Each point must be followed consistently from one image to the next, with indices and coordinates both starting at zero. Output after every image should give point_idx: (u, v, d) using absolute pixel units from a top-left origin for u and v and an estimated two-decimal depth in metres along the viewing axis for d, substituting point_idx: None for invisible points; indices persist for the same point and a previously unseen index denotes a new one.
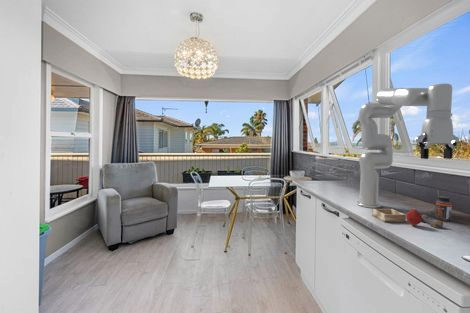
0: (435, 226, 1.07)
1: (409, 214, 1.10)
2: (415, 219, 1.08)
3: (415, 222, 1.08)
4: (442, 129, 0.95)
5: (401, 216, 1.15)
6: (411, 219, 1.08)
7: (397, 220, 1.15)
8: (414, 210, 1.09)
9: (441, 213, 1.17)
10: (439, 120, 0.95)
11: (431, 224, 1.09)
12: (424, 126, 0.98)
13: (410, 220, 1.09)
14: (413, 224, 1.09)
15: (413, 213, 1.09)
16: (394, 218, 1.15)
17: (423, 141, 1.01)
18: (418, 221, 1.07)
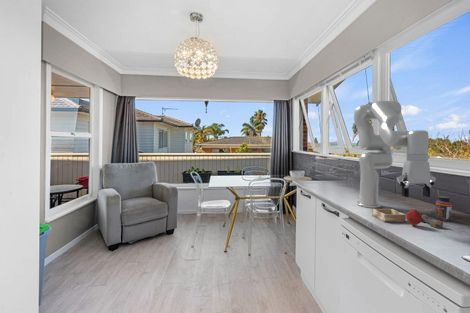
0: (435, 226, 1.07)
1: (409, 214, 1.09)
2: (415, 219, 1.08)
3: (415, 222, 1.08)
4: (420, 171, 1.06)
5: (401, 216, 1.15)
6: (411, 219, 1.08)
7: (397, 220, 1.15)
8: (414, 210, 1.09)
9: (441, 213, 1.17)
10: (417, 163, 1.06)
11: (431, 224, 1.09)
12: (404, 167, 1.09)
13: (410, 220, 1.09)
14: (413, 224, 1.09)
15: (413, 213, 1.09)
16: (394, 218, 1.15)
17: (404, 180, 1.11)
18: (418, 221, 1.07)
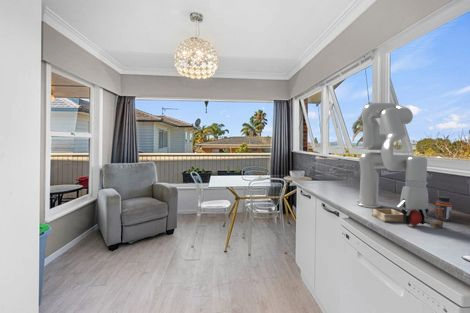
0: (435, 226, 1.07)
1: (409, 214, 1.09)
2: (415, 219, 1.07)
3: (415, 222, 1.08)
4: (418, 197, 1.07)
5: (401, 216, 1.15)
6: (411, 219, 1.08)
7: (397, 220, 1.15)
8: (414, 210, 1.09)
9: (441, 213, 1.17)
10: (415, 189, 1.07)
11: (431, 224, 1.09)
12: (403, 192, 1.10)
13: (410, 220, 1.09)
14: (413, 224, 1.09)
15: (414, 213, 1.09)
16: (394, 218, 1.15)
17: None
18: (418, 221, 1.07)
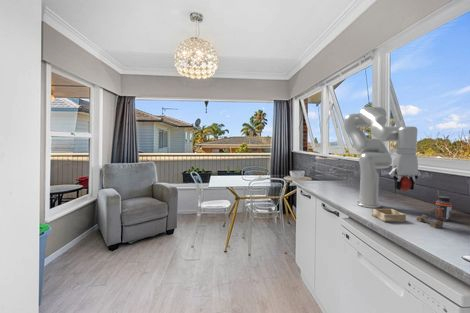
0: (435, 226, 1.07)
1: (400, 180, 1.18)
2: (405, 184, 1.16)
3: (405, 187, 1.16)
4: (408, 164, 1.15)
5: (401, 216, 1.15)
6: (401, 184, 1.17)
7: (397, 220, 1.15)
8: (405, 176, 1.18)
9: (441, 213, 1.17)
10: (406, 156, 1.15)
11: (431, 224, 1.09)
12: (394, 160, 1.18)
13: (401, 186, 1.17)
14: (404, 189, 1.18)
15: (404, 179, 1.17)
16: (394, 218, 1.15)
17: None
18: (408, 186, 1.16)
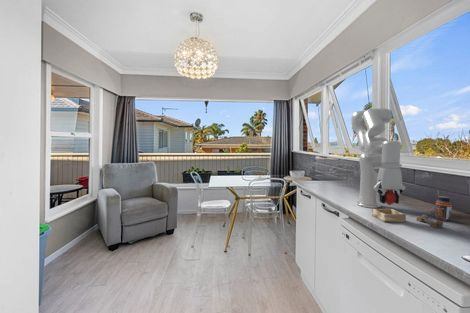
0: (435, 226, 1.07)
1: (385, 194, 1.19)
2: (390, 198, 1.16)
3: (390, 201, 1.17)
4: (392, 178, 1.16)
5: (401, 216, 1.15)
6: (386, 198, 1.17)
7: (397, 220, 1.15)
8: (389, 190, 1.18)
9: (441, 213, 1.17)
10: (390, 170, 1.16)
11: (431, 224, 1.09)
12: (379, 174, 1.19)
13: (386, 199, 1.18)
14: (389, 203, 1.18)
15: (389, 193, 1.18)
16: (394, 218, 1.15)
17: (379, 186, 1.22)
18: (392, 200, 1.16)
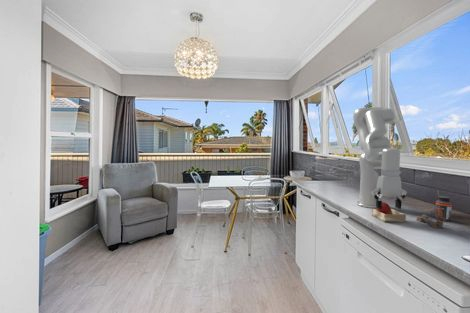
0: (435, 226, 1.07)
1: None
2: (383, 209, 1.19)
3: (386, 211, 1.19)
4: (392, 185, 1.17)
5: (401, 216, 1.15)
6: (381, 210, 1.20)
7: (397, 220, 1.15)
8: None
9: (441, 213, 1.17)
10: (389, 178, 1.16)
11: (431, 224, 1.09)
12: (378, 181, 1.20)
13: (381, 212, 1.20)
14: None
15: None
16: (394, 218, 1.15)
17: None
18: (386, 209, 1.19)
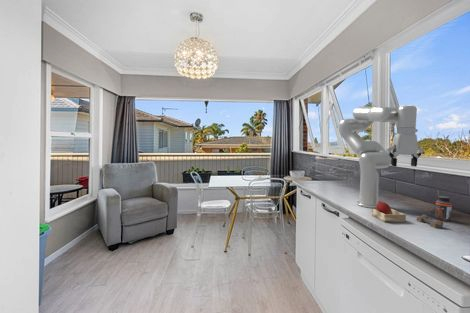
0: (435, 226, 1.07)
1: (377, 207, 1.21)
2: (383, 209, 1.19)
3: (385, 211, 1.19)
4: (407, 143, 1.17)
5: (401, 216, 1.15)
6: (380, 210, 1.20)
7: (397, 220, 1.15)
8: (379, 202, 1.22)
9: (441, 213, 1.17)
10: (405, 135, 1.17)
11: (431, 224, 1.09)
12: (394, 139, 1.21)
13: (381, 212, 1.20)
14: None
15: (380, 204, 1.21)
16: (394, 218, 1.15)
17: None
18: (386, 209, 1.19)
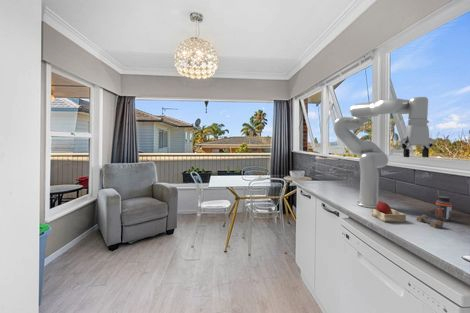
0: (435, 226, 1.07)
1: (377, 207, 1.21)
2: (383, 209, 1.19)
3: (385, 211, 1.19)
4: (420, 133, 1.19)
5: (401, 216, 1.15)
6: (380, 210, 1.20)
7: (397, 220, 1.15)
8: (379, 202, 1.22)
9: (441, 213, 1.17)
10: (418, 126, 1.18)
11: (431, 224, 1.09)
12: (406, 131, 1.22)
13: (381, 212, 1.20)
14: None
15: (380, 204, 1.21)
16: (394, 218, 1.15)
17: None
18: (386, 209, 1.19)
